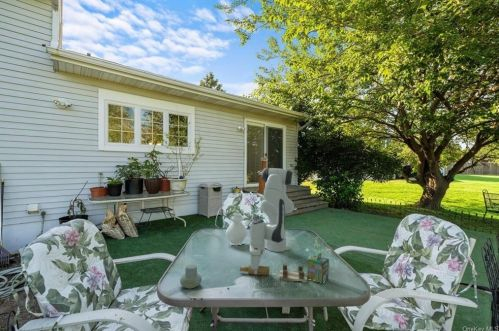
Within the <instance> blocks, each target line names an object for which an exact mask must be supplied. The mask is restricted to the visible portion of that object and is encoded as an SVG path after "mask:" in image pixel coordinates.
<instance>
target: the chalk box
mask: <svg viewBox="0 0 499 331" xmlns="http://www.w3.org/2000/svg"><path fill="white" fill-rule="evenodd" d="M329 268H330V259H329V258H328V257H327V258H326V257H322V252H320V253H319V254H318V255H315V254H314V255H313V256H311V257H310V258H308V259H307V280H308V279H311V280H315V281H318V282H321V283H323V282H324V281H325V280H327V279H328V278H329V275H330V274H329V270H330V269H329ZM311 280H310V281H311ZM328 280H329V279H328ZM328 280H327V281H328ZM324 283H325V282H324ZM324 283H323V284H324Z"/></svg>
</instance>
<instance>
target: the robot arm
mask: <svg viewBox="0 0 499 331" xmlns="http://www.w3.org/2000/svg"><path fill="white" fill-rule="evenodd" d="M294 177H295V176H294V173H293V171H292V170H289V169H288V170H287V169H285V168H275V167H264V169H263V170H262V172H261V180H262V181H263V182H264V183H265V184H264V185H265V186H264V188H263V198H264V199H263V200H262V201H261V203H260V209H261V210H262V212H263V213H264V214H265V215H266V216H267V217H268V221H269V223H268V222H265V221H264V219H261V218H257V219H256V218H255V219H253V220H252V221H251V223H250V227H249V228H250V229H249V237H250V240H249V256H250V265H251V268H252V269H253V270H254V274H257V273H258V268H259V266H260V263H261V260H262V255H263V253H264V252H265V250H268V251H270V252H275V253H282V252H285V250H286V251H289V250H290V249H289V247H288V244H287V238H286V227H285V226H286V223H285V222H286V219H285V218H286V214H291V213H292V212H293V211H294V209H295V204H294V202H293V200H291V199H290V198H288V195H287V186H290V185H292V183H293V181H294ZM265 240H266V242H265ZM265 244H266V245H265ZM265 248H266V249H265Z"/></svg>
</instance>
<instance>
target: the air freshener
mask: <svg viewBox="0 0 499 331" xmlns="http://www.w3.org/2000/svg"><path fill="white" fill-rule="evenodd" d="M184 270H185V273H184V274H182V276H181V277H180V279H179V283H180V285H181V287H183V288H186V289H189V290H190V289H193V288H196V287H198V286H200V284H201V283H202V282H203V281H202V276H201V275H200V274H199V273H198V266H197V265H196V264H189V265H186V266H185V269H184Z"/></svg>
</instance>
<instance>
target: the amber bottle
mask: <svg viewBox="0 0 499 331" xmlns="http://www.w3.org/2000/svg"><path fill="white" fill-rule="evenodd" d="M270 267H271V266H266V265H259V268H258V273H257V274H254V270H253V269H252V268H251V264H249V265H248V266H240V267H239V271H240V272H246V273H248V275H255V276H267V277H269V276H270V271H271V270H270V269H271V268H270Z"/></svg>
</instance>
